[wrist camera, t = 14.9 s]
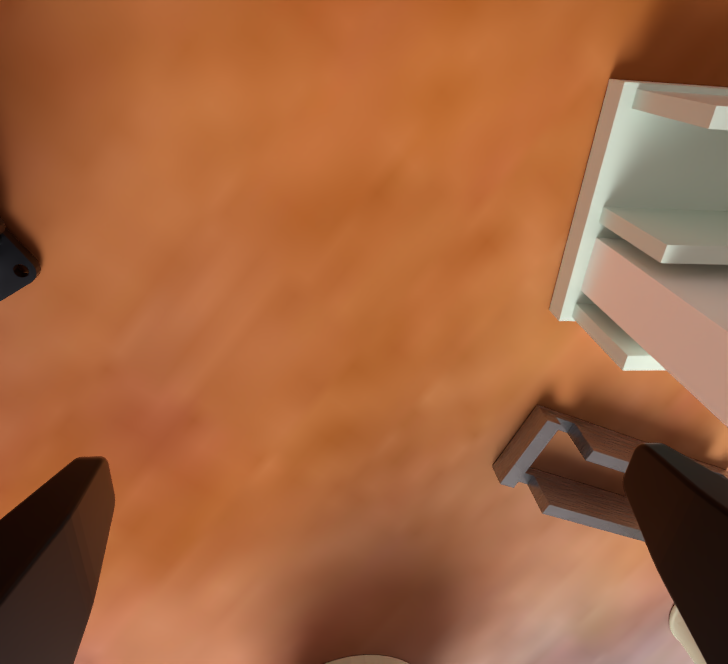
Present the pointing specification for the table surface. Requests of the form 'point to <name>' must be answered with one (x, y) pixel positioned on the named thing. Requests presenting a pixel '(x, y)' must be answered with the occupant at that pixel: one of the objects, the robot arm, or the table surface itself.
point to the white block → (668, 314)
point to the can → (684, 636)
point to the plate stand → (567, 494)
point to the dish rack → (648, 195)
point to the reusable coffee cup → (368, 660)
